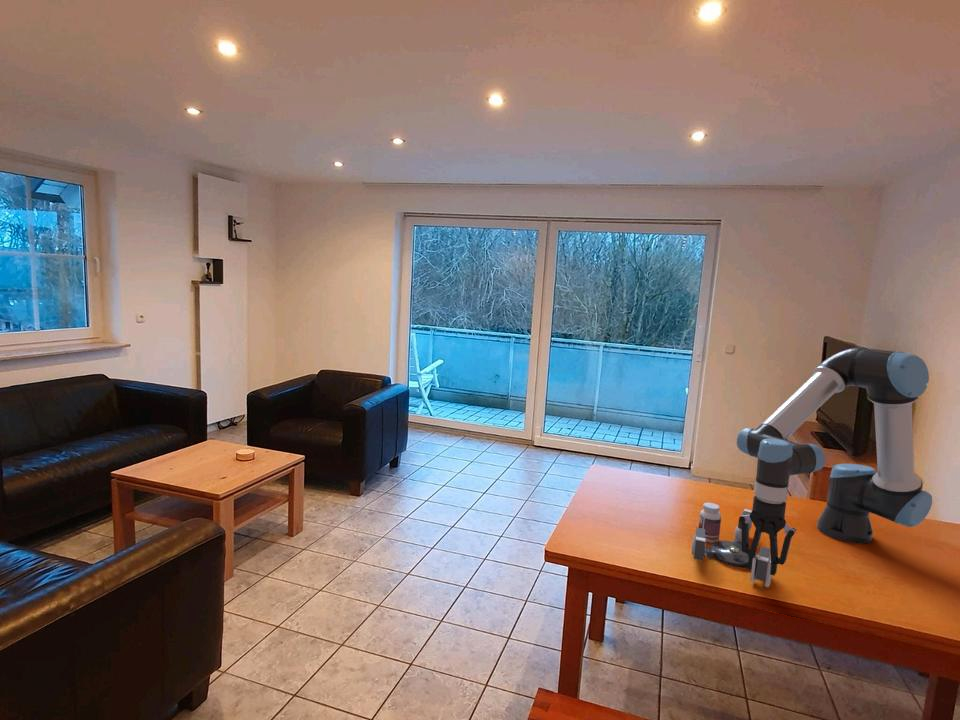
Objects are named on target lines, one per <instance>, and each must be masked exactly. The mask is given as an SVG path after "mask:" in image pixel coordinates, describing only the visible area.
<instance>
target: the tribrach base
mask: <svg viewBox="0 0 960 720" xmlns="http://www.w3.org/2000/svg"><path fill="white" fill-rule="evenodd" d="M705 555H706V557H708V558H714V559H716V560H717V561H718V562H721V563H722V564H725V565H727V566H731V567H735V568H744V569H745V568H746V569H747V570H749V571H750V572H751V571H752V568H749V567H748V559H749V556H748V554H746V553H743V552H742V543H741V542H737V541H734V540H733V541H731V540H718V541H716V542H714V543H711V547H710V546H705ZM755 555H757V552H756V553H755Z"/></svg>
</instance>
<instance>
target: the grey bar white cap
mask: <svg viewBox="0 0 960 720" xmlns="http://www.w3.org/2000/svg"><path fill="white" fill-rule="evenodd" d="M759 549H760V550H759V552H758V554H757V555H758V559H757V560H758V561H757V569H756V577H755V580H758V581H761V582H764V583H765V582H766V574H767V566H768V562H769V560H771V552H770V547H766V546H762V545H761V546H760V548H759Z"/></svg>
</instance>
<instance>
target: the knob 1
mask: <svg viewBox="0 0 960 720" xmlns="http://www.w3.org/2000/svg"><path fill="white" fill-rule="evenodd" d="M751 512H752V509H751V510H750V509H748V508H744V509H743V511H742V514H745V515H749V514H750V513H751ZM742 514H741V515H742ZM752 524H753V522H752V520H751V519H750V522H749V532H750V531H751V529H752ZM734 531H735V532H734V538H733V539H734V540H733V541H737V542H741V543H742V525H741V522H740V520H739V519H738V525H737V526H735V529H734Z"/></svg>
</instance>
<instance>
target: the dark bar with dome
mask: <svg viewBox="0 0 960 720" xmlns="http://www.w3.org/2000/svg"><path fill="white" fill-rule="evenodd" d="M706 544H707V542H706V538H705V529H702V528H699V527H696V528H695V534H694V535H693V537H692V543H691V554H692V555H693V559H694V560H698V561H704V557H705V555H706V554H705V547H706Z"/></svg>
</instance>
